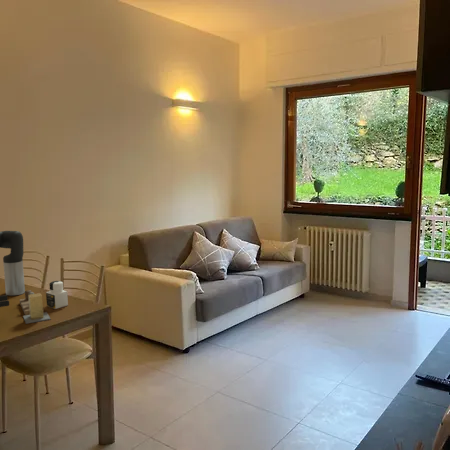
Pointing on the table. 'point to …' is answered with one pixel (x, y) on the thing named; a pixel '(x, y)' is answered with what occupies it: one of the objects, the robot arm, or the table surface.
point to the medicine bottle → (56, 295)
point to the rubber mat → (28, 319)
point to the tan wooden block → (35, 306)
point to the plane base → (26, 302)
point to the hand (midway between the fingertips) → (8, 300)
